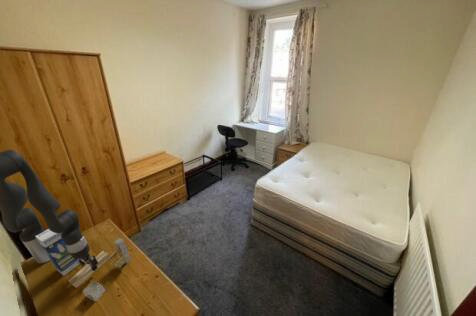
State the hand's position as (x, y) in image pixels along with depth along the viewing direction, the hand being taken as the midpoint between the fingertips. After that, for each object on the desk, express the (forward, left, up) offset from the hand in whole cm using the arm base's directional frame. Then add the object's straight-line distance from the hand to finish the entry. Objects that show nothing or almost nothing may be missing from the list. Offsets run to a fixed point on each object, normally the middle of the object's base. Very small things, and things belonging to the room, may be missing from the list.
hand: (89, 267), depth 103 cm
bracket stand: (+13, 0, -3) cm, 14 cm away
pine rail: (0, 0, -4) cm, 4 cm away
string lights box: (-14, 0, -3) cm, 14 cm away
